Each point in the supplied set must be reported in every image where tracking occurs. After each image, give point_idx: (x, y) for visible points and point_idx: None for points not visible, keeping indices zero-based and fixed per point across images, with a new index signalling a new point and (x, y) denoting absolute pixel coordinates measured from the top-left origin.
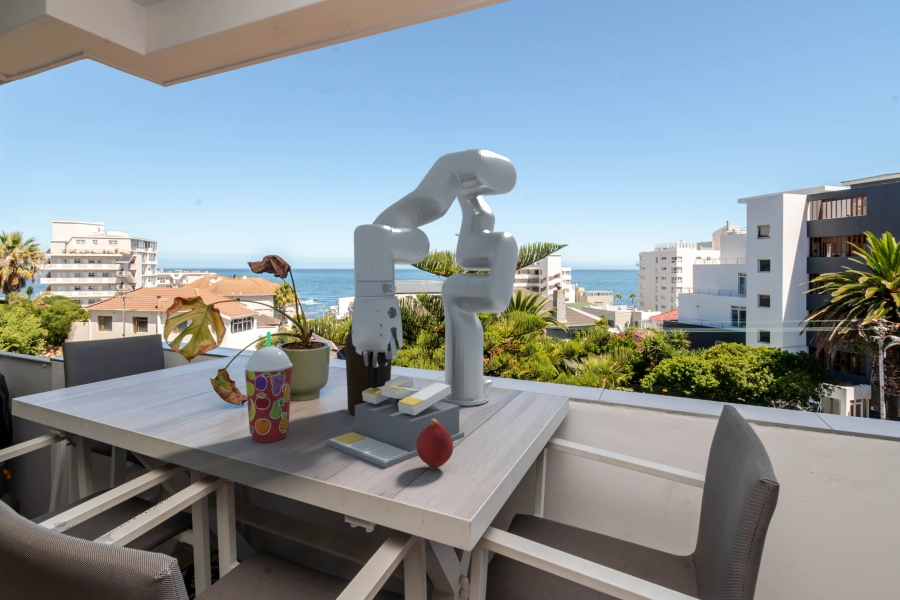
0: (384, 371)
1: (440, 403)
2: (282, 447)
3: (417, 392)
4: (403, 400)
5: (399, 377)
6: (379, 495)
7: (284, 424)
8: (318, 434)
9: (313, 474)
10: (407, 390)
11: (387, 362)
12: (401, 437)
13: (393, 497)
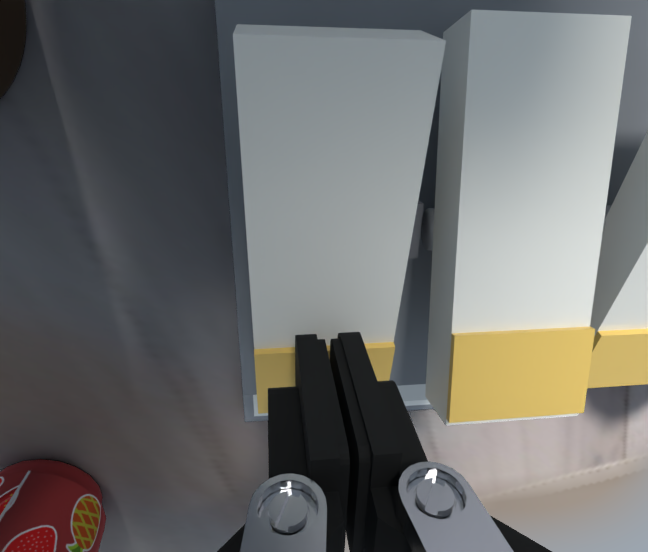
0: (383, 409)
1: (635, 23)
2: (171, 496)
3: (638, 267)
4: (596, 374)
5: (274, 81)
6: (595, 466)
7: (86, 522)
8: (125, 384)
9: None
10: (588, 318)
11: (475, 494)
12: None
13: (625, 454)
